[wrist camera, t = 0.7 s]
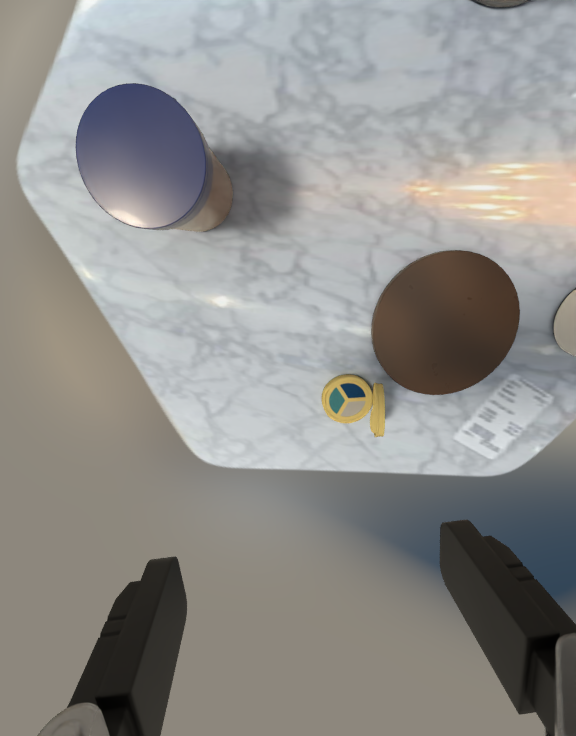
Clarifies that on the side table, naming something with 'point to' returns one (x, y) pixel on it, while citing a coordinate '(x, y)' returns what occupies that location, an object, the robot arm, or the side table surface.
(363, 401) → the eyeshadow
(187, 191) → the jar lid
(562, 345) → the can
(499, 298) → the coaster
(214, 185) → the jar
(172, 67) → the side table surface
